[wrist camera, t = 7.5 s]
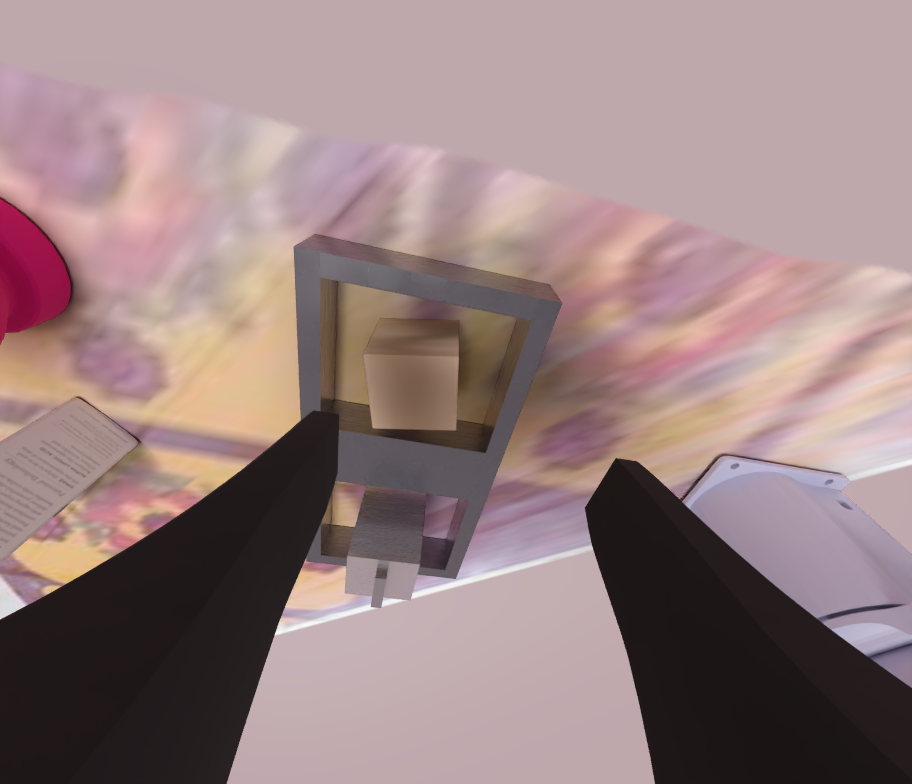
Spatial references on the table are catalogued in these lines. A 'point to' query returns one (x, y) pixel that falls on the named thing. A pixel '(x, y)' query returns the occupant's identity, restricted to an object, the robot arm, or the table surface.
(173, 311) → the table surface
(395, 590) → the grey block with tab
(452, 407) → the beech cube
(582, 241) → the table surface
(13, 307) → the pepper mill
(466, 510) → the grey slotted frame
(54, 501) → the skincare box
